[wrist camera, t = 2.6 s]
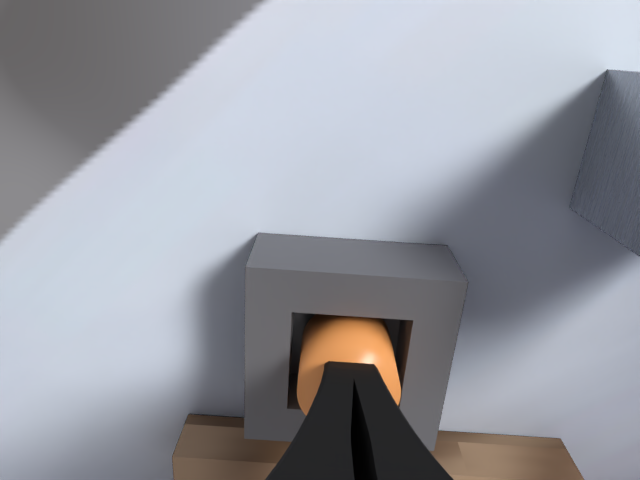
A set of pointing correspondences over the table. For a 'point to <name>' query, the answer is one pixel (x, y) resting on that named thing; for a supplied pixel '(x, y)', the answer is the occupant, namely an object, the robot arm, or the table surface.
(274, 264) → the button housing
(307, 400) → the button cap
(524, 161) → the table surface
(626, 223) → the billet
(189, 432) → the wooden board
